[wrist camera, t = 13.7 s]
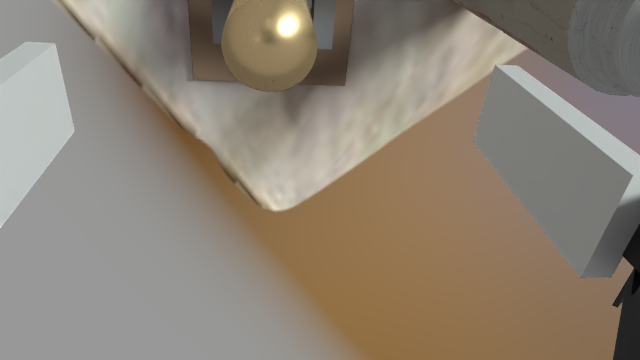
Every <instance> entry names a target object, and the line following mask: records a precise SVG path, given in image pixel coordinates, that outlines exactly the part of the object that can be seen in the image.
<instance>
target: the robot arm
mask: <svg viewBox="0 0 640 360" xmlns="http://www.w3.org/2000/svg"><path fill="white" fill-rule="evenodd" d="M74 131H75V130H74V125H73V121H72V117H71V112H70V107H69V103H68V98H67V94H66V89H65V85H64V81H63V76H62V72H61V68H60V63H59V58H58V54H57V49H56V45H55V43H38V42H25V43H24V44H22V45H21V46H19V47H18V48H16V49H15V50H13V51H12V52H10V53H9V54H7V55H6V56H4V57H3V58H1V59H0V228H1V227H2V225H3V224H4V223H5V221H6V220H7V219H8V218H9V216H10V215H11V214H12V212H13V211H14V210H15V208H16V207H17V206H18V205H19V203H20V202H21V201H22V199H23V198H24V197H25V195H26V194H27V193H28V192H29V190H30V189H31V188H32V186H33V185H34V184H35V182H36V181H37V180H38V178H39V177H40V176H41V175H42V173H43V172H44V171H45V169H46V168H47V167H48V165H49V164H50V163H51V161H52V160H53V159H54V158H55V156H56V155H57V154H58V152H59V151H60V150H61V148H62V147H63V146H64V145H65V143H66V142H67V141H68V139H69V138H70V137H71V135H72V134H73V133H74ZM473 142H474V144H475V145H476V146H477V148H478V149H479V150H480V151H481V153H482V154H483V155H484V156H485V158H486V159H487V160H488V161H489V163H490V164H491V165H492V166H493V168H494V169H495V170H496V171H497V173H498V174H499V175H500V176H501V178H502V179H503V180H504V182H505V183H506V184H507V185H508V187H509V188H510V189H511V190H512V191H513V193H514V194H515V195H516V197H517V198H518V199H519V200H520V202H521V203H522V204H523V206H524V207H525V208H526V209H527V211H528V212H529V213H530V214H531V216H532V217H533V218H534V220H535V221H536V222H537V223H538V224H539V226H540V227H541V228H542V230H543V231H544V232H545V233H546V235H547V236H548V237H549V238H550V240H551V241H552V242H553V244H554V245H555V246H556V247H557V249H558V250H559V251H560V252H561V254H562V255H563V256H564V257H565V259H566V260H567V261H568V262H569V263H570V265H571V266H572V267H573V269H574V270H575V271H576V273H577V274H578V275H579V276H580V277H581V278H594V277H596V278H597V277H612V275H613V273H614V271H615V270H616V268H617V266H618V264H619V263H620V261H621V259H622V257H624V258H625V259H626V260H627V261H628V262H629V263H630V264H631V265H632V266H633V267H634V269H633V271H632V273H631V274H630V276H629V278H628V280H627V281H626V283H625V285H624V286H623V288H622V289H621V291H620V293H619V295H618V296H617V298H616V300H615V301H614V303H613V306H615V307H618V306H619V305H620V304H621V303H623V304H622V309H621V315H620V321H619V328H618V333H617V339H616V345H615V351H614V357H613V360H640V155H638V154H637V153H636V152H634V151H633V150H632V149H630V148H629V147H627V146H626V145H625V144H623V143H622V142H621V141H619V140H618V139H617V138H615V137H614V136H612V135H611V134H610V133H609V132H607V131H606V130H604V129H603V128H602V127H600V126H599V125H598V124H596V123H595V122H594V121H592V120H591V119H589V118H588V117H587V116H585V115H584V114H583V113H581V112H580V111H579V110H577V109H576V108H574V107H573V106H572V105H570V104H569V103H568V102H566V101H565V100H564V99H562V98H561V97H559V96H558V95H556V94H555V93H554V92H553V91H551V90H550V89H549V88H547V87H546V86H545V85H543V84H542V83H540V82H539V81H538V80H536V79H535V78H534V77H532V76H531V75H530V74H528V73H527V72H526V71H524V70H523V69H521V68H520V67H519V66H511V65H495V67H494V70H493V74H492V77H491V81H490V84H489V88H488V91H487V95H486V98H485V102H484V105H483V109H482V112H481V116H480V119H479V123H478V126H477V130H476V133H475V136H474V140H473Z"/></svg>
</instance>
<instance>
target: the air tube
mask: <svg viewBox="0 0 640 360" xmlns="http://www.w3.org/2000/svg"><path fill="white" fill-rule="evenodd" d="M221 46H222V53H223V57H224V60H225V62H226V64H227V66H228V68H229V69H230V71H231V72H232V74H233V75H234V76H235V77H236V78H237V79H238V80H239V81H241V82H242V83H244V84H245V85H247V86H249V87H251V88H253V89H256V90H260V91H265V92H277V91H282V90H286V89H289V88H291V87H293V86H295V85H297V84H298V83H299V82H301V81H302V80H303V79H304V78H305V77H306V76H307V74H308V73H309V72H310V70H311V68H312V67H313V64H314V62H315V59H316V55H317V37H316V33H315V29H314V25H313V21H312V17H311V13H310V9H309V6H308V2H307V0H233V3H232V6H231V9H230V12H229V14H228V17H227V20H226V23H225V26H224V29H223V32H222V38H221Z"/></svg>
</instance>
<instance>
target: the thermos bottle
mask: <svg viewBox="0 0 640 360" xmlns="http://www.w3.org/2000/svg"><path fill="white" fill-rule="evenodd" d="M453 1H454V2H456V3H457V4H459V5H461V6H462V7H464V8H465V9H467V10H468V11H470V12H472V13H473V14H475V15H476V16H478V17H480V18H481V19H483V20H485V21H486V22H488V23H489V24H491V25H493V26H495V27H496V28H498V29H500V30H501V31H503V32H504V33H505V34H507V35H508V36H510V37H511V38H513V39H515V40H516V41H518V42H519V43H521V44H523V45H524V46H526V47H527V48H529V49H531V50H532V51H534V52H535V53H537V54H538V55H540V56H542V57H543V58H545V59H546V60H548V61H550V62H551V63H553V64H554V65H556V66H558V67H559V68H561V69H562V70H564V71H566V72H567V73H569V74H570V75H572V76H573V77H575V78H577V79H578V80H580V81H582V82H583V83H585V84H586V85H588V86H590V87H591V88H593V89H594V90H596V91H599V92H602V93H606V94H609V95H619V96H628V95H632V96H636V97H640V0H453Z"/></svg>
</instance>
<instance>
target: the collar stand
mask: <svg viewBox="0 0 640 360" xmlns="http://www.w3.org/2000/svg"><path fill="white" fill-rule="evenodd" d="M307 2H308V6H309V9H310V13H311V17H312V21H313V25H314V29H315V33H316V37H317V55H316V59H315V62H314V64H313V67H312V68H311V70H310V72H309V73H308V74H307V76H306V77H305V78H304V79H303V80H302V81H301V82H299V83H298V84H314V85H339V86H345V80H346V71H347V62H348V54H349V45H350V36H351V27H352V18H353V9H354V0H307ZM232 3H233V0H188V7H189V22H190V36H191V51H192V66H193V80H216V81H239V80H238V79H237V78H236V77H235V76H234V75H233V74H232V72H231V71H230V69H229V68H228V66H227V64H226V62H225V60H224V57H223V53H222V46H221V38H222V32H223V29H224V26H225V23H226V20H227V17H228V14H229V12H230V9H231V6H232ZM240 82H241V81H240Z"/></svg>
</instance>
